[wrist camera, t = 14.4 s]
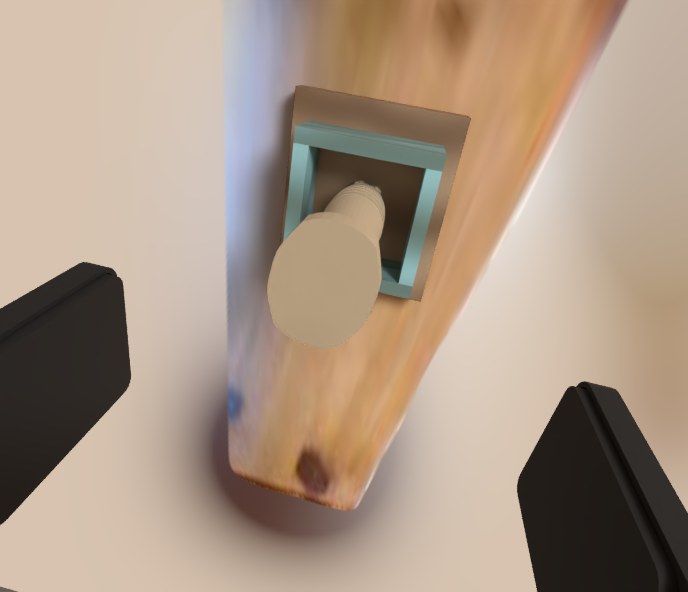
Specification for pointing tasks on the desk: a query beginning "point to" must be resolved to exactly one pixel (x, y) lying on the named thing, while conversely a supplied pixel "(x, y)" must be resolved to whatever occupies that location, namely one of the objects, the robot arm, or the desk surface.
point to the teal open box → (376, 172)
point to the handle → (329, 270)
